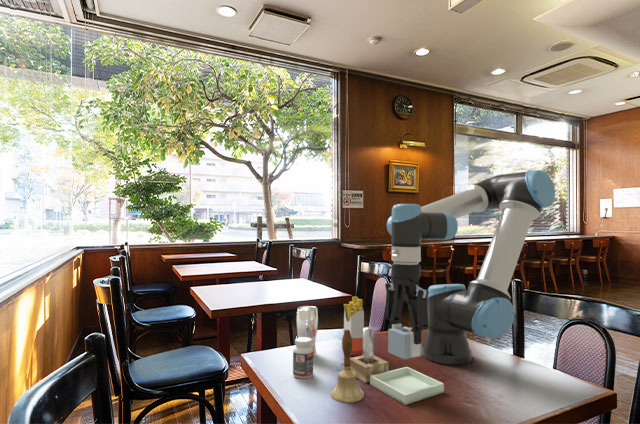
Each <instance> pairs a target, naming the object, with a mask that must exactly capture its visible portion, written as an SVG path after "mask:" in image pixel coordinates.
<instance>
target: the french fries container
mask: <svg viewBox="0 0 640 424" xmlns="http://www.w3.org/2000/svg"><path fill="white" fill-rule="evenodd" d="M363 302H364V301H363V299H361V298H359V297H358V296H352V298H351V301H348V303H343V310H344V311H343V313H344V314H343V332H344V331H345V330H350V334H351V337H352V351H351V355H350V357H351V356H353V357H357V356H362V355H363V327H365V310H364V307H363Z"/></svg>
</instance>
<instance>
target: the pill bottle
mask: <svg viewBox="0 0 640 424" xmlns="http://www.w3.org/2000/svg"><path fill="white" fill-rule="evenodd" d="M294 344H295V346H294V348H293V350H292V353H293V354H292V375H293V376H294V377H295V378H297V379H309V378H311V377H312V376H313V375H314V357H313V348H312V347H311V344H312V339H311V338H309V337H299V338H298V337H297V338H295V340H294Z"/></svg>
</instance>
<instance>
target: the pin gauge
mask: <svg viewBox="0 0 640 424" xmlns="http://www.w3.org/2000/svg"><path fill="white" fill-rule="evenodd" d="M374 329H375V328H374V327H372V326H364V327H363V353H362V355H363V363H365V364H371V363H374V356H375V353H374V352H375V351H374V350H375V349H374V348H375V346H374V344H375V341H374V338H375V334H374V333H375V331H374Z"/></svg>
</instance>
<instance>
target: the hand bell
mask: <svg viewBox="0 0 640 424" xmlns="http://www.w3.org/2000/svg"><path fill="white" fill-rule="evenodd" d="M341 348H342V352H343V369H342V370H341V371H339V372H338V375H337V376H338V377H337V383H336V385H335V387H334V388H333V389H332V391H331V393H330V397H331V398H332V399H333V400H335V401H337V402H340V403H341V402H342V403H345V404H346V403H350V404H351V403H356V402H359V401H361V400H363V399H364V397H365V393H364V390H362V389H361V387H360V385H359V383H358V380H357V379H358V378H357V377H356V373H355V372H354V371H352V370H351V367H350V366H351V364H350V358H351V356H350V355H351V351H352V337H351V334H350V330H345V331H344V330H343V335H342V339H341Z"/></svg>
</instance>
